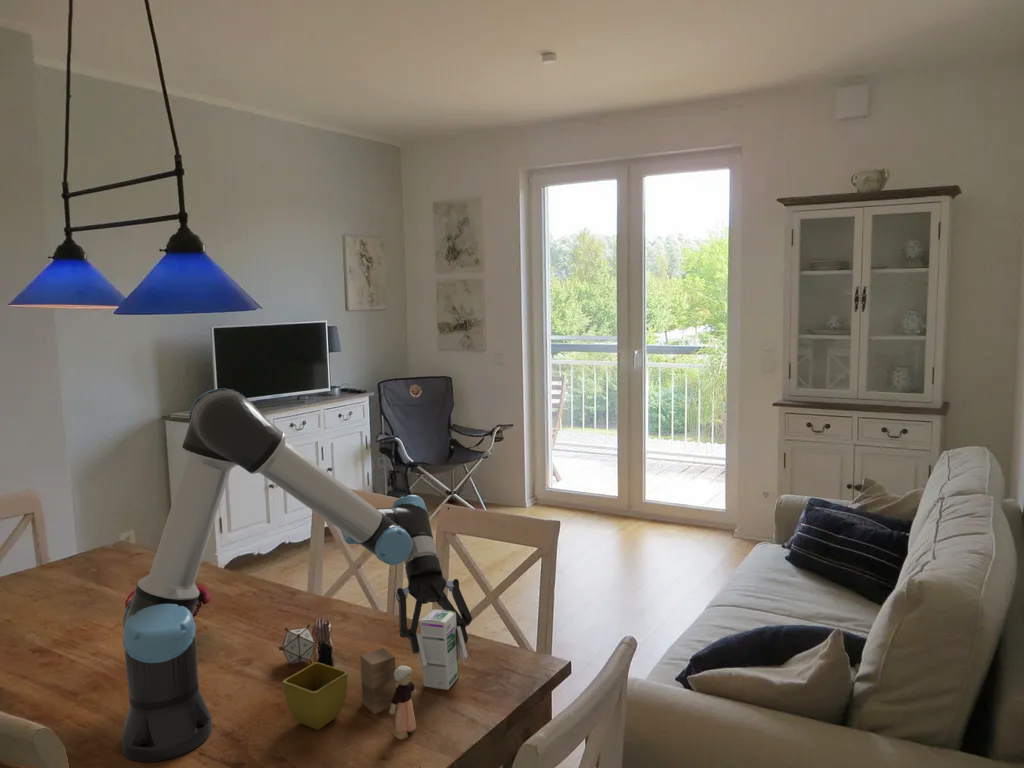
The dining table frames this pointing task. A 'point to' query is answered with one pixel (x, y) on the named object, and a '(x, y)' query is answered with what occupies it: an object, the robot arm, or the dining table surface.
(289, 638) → the game die
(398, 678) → the grandmother figurine
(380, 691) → the walnut block
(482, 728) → the dining table surface
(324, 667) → the flower pot
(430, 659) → the syrup box
